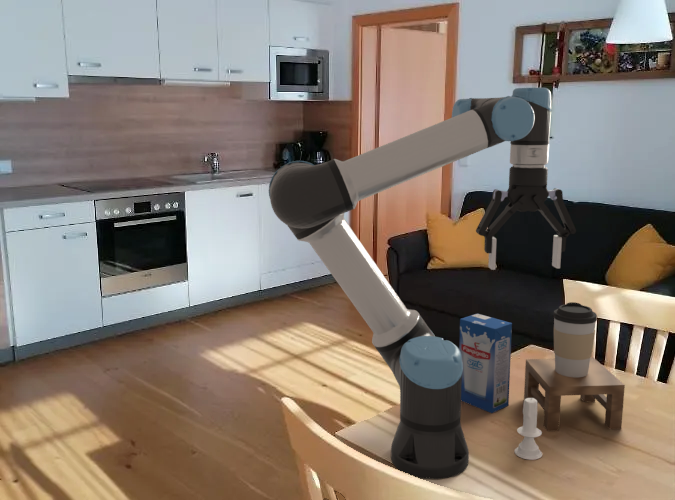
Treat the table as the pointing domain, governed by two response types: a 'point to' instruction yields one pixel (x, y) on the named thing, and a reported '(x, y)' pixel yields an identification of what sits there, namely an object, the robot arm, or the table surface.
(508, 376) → the milk carton
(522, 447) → the candle
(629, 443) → the table surface
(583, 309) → the coffee cup
